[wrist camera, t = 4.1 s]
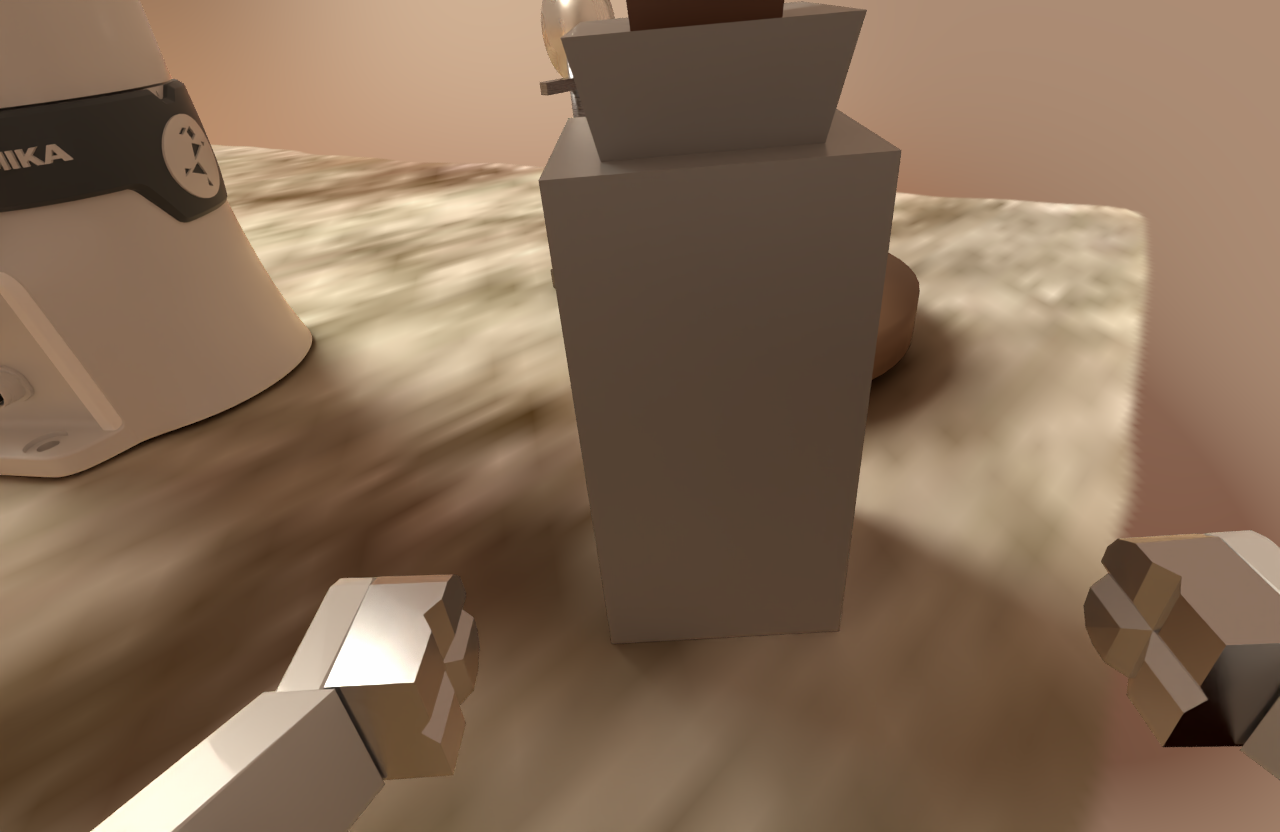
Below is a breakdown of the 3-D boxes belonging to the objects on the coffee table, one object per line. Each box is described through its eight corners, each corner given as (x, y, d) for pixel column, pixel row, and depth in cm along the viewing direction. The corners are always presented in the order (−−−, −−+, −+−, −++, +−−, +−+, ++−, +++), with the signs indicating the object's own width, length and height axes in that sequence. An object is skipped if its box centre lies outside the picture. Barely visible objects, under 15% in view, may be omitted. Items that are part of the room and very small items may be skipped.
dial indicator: (598, 307, 41) (557, -27, 31) (550, 288, 44) (501, -20, 35) (660, 281, 43) (639, -33, 34) (611, 264, 47) (580, -26, 37)
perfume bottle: (616, 497, 26) (542, -88, 16) (793, 485, 25) (830, -116, 15) (611, 643, 20) (490, -126, 10) (839, 630, 20) (942, -171, 10)
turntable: (599, 416, 29) (591, 362, 27) (604, 279, 42) (600, 237, 41) (969, 386, 29) (981, 330, 27) (856, 257, 42) (861, 215, 41)
